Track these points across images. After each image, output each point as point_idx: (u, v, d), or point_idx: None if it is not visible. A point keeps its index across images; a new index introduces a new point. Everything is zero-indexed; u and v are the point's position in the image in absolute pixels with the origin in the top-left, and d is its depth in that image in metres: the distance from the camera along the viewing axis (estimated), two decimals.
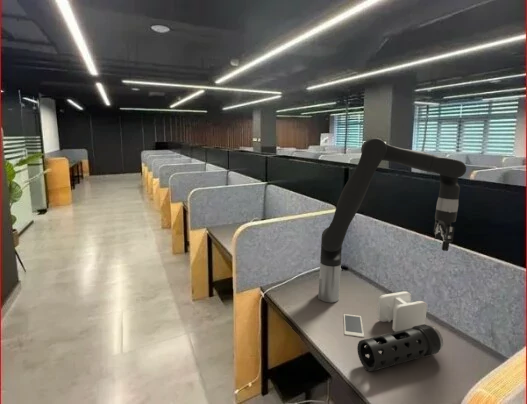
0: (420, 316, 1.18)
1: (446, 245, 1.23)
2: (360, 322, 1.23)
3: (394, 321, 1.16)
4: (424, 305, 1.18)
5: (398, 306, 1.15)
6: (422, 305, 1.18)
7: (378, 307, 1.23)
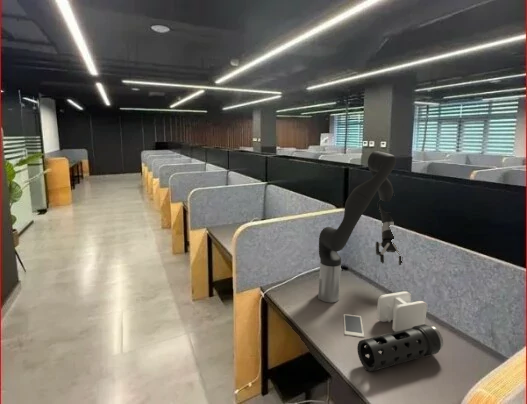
0: (420, 316, 1.18)
1: None
2: (360, 322, 1.23)
3: (394, 321, 1.16)
4: (424, 305, 1.18)
5: (398, 306, 1.15)
6: (422, 305, 1.18)
7: (378, 307, 1.23)
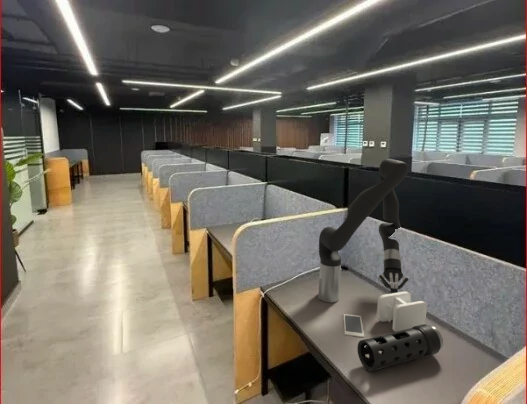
0: (420, 316, 1.18)
1: None
2: (360, 322, 1.23)
3: (394, 321, 1.16)
4: (424, 305, 1.18)
5: (398, 306, 1.15)
6: (422, 305, 1.18)
7: (378, 307, 1.23)
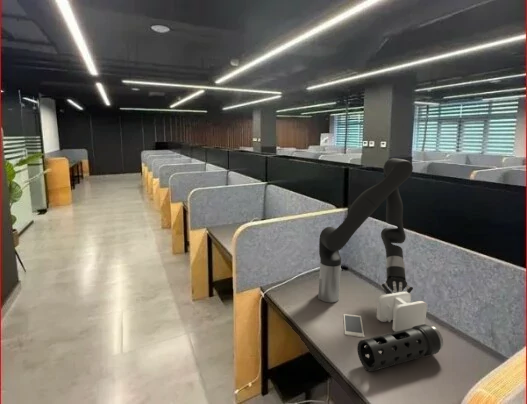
0: (420, 316, 1.18)
1: None
2: (360, 322, 1.24)
3: (394, 321, 1.16)
4: (424, 305, 1.18)
5: (398, 306, 1.15)
6: (422, 305, 1.18)
7: (378, 307, 1.23)
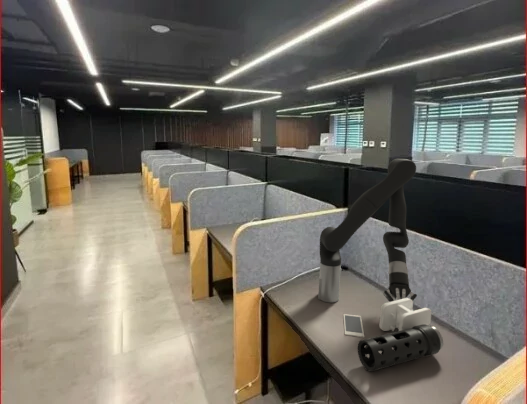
0: None
1: None
2: (360, 322, 1.24)
3: None
4: (429, 312, 1.13)
5: (404, 315, 1.09)
6: (427, 312, 1.13)
7: (381, 316, 1.17)
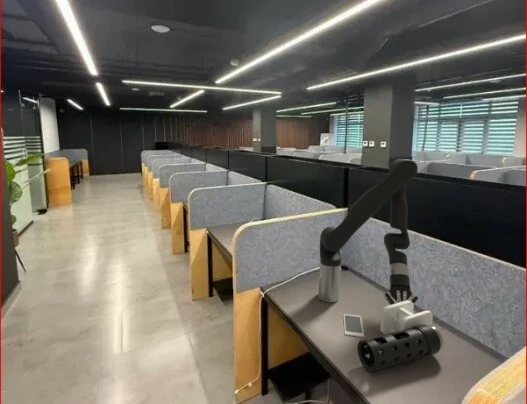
0: None
1: None
2: (360, 322, 1.24)
3: None
4: (430, 315, 1.11)
5: (406, 318, 1.07)
6: (428, 315, 1.11)
7: (382, 319, 1.15)
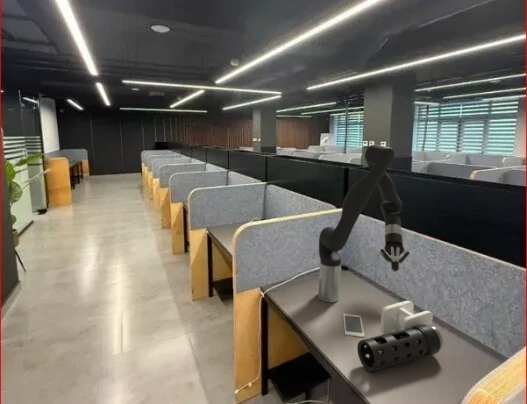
0: None
1: None
2: (360, 322, 1.24)
3: None
4: (430, 315, 1.11)
5: (406, 319, 1.07)
6: (428, 315, 1.11)
7: (382, 320, 1.15)
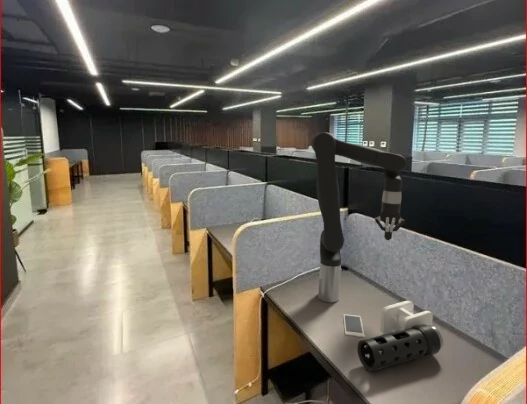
0: None
1: (391, 234, 1.36)
2: (360, 322, 1.24)
3: None
4: (430, 315, 1.11)
5: (406, 319, 1.07)
6: (428, 315, 1.11)
7: (382, 320, 1.15)
